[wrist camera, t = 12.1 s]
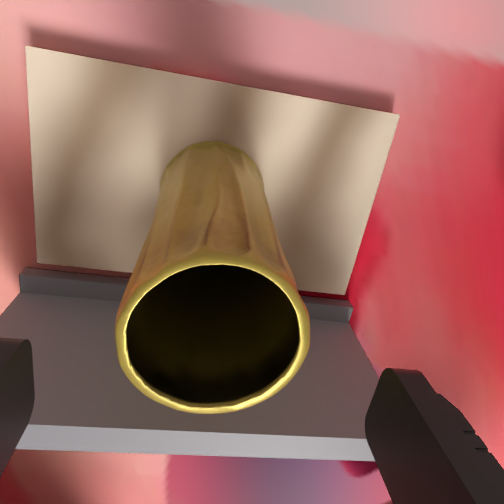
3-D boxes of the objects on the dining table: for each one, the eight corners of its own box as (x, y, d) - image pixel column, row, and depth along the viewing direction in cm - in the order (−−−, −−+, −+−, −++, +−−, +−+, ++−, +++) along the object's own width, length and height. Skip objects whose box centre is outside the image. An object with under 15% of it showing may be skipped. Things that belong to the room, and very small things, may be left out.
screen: (348, 300, 29) (422, 422, 19) (334, 344, 30) (396, 478, 20) (25, 267, 25) (-95, 395, 15) (29, 319, 27) (-78, 466, 17)
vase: (140, 206, 23) (53, 376, 10) (196, 117, 21) (175, 187, 9) (226, 257, 25) (243, 454, 12) (284, 179, 23) (374, 313, 10)
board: (392, 113, 23) (400, 114, 22) (340, 287, 28) (344, 294, 27) (33, 46, 20) (25, 45, 19) (43, 256, 25) (36, 262, 24)
